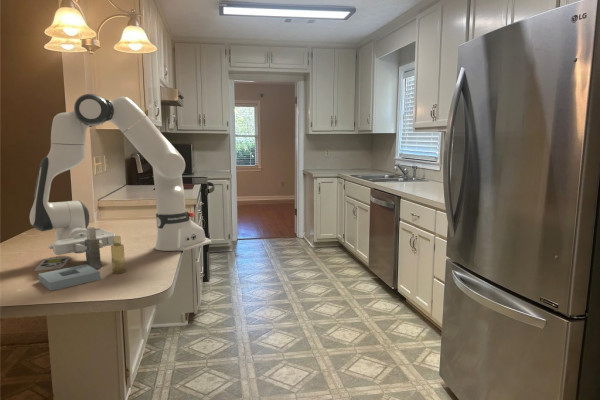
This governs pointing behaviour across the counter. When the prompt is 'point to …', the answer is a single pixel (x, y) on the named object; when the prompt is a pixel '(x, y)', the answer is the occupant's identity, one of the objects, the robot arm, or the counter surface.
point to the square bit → (92, 249)
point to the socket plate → (68, 277)
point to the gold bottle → (117, 256)
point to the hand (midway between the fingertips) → (93, 247)
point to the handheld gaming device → (52, 263)
